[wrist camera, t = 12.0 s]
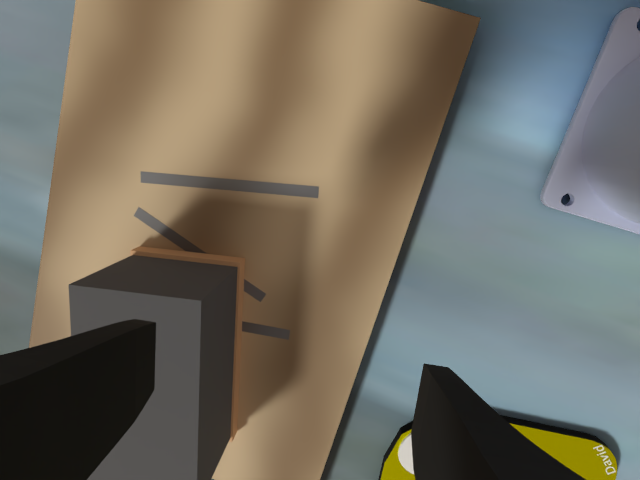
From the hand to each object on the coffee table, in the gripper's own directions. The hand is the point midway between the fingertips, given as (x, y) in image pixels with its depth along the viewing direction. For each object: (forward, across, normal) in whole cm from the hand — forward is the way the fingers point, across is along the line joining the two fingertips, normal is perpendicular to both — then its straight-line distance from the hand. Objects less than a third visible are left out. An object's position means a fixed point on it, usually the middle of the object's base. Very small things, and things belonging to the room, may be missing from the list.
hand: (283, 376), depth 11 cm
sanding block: (+8, +6, +4) cm, 11 cm away
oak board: (+9, +5, -1) cm, 11 cm away
